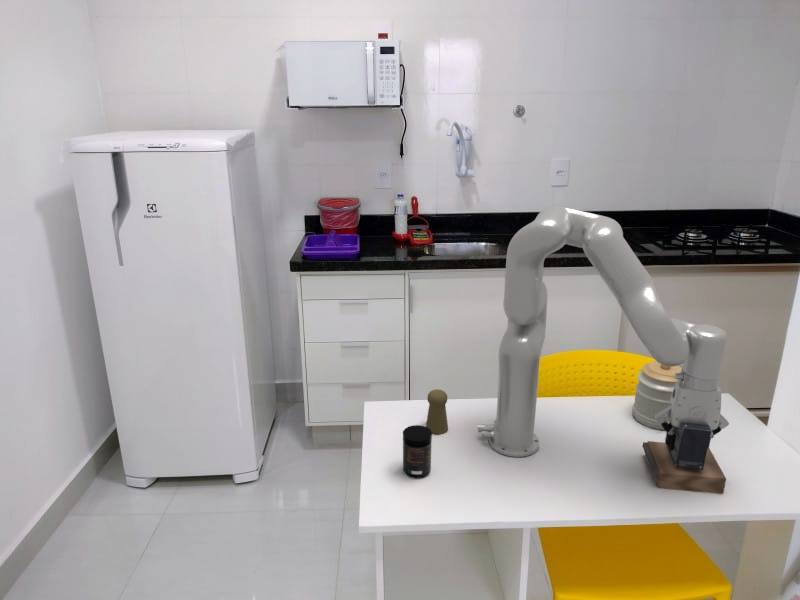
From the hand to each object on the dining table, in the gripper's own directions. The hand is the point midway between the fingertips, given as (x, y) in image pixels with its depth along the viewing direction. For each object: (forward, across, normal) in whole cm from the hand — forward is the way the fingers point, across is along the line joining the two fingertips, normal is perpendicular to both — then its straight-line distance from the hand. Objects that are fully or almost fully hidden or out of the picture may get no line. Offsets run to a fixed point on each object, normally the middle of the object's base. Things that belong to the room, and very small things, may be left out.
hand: (686, 447), depth 144 cm
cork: (+8, -59, +11) cm, 60 cm away
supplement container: (+8, -62, -8) cm, 63 cm away
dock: (+7, 0, 0) cm, 7 cm away
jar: (+7, 0, +25) cm, 26 cm away
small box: (+2, 0, 0) cm, 2 cm away
